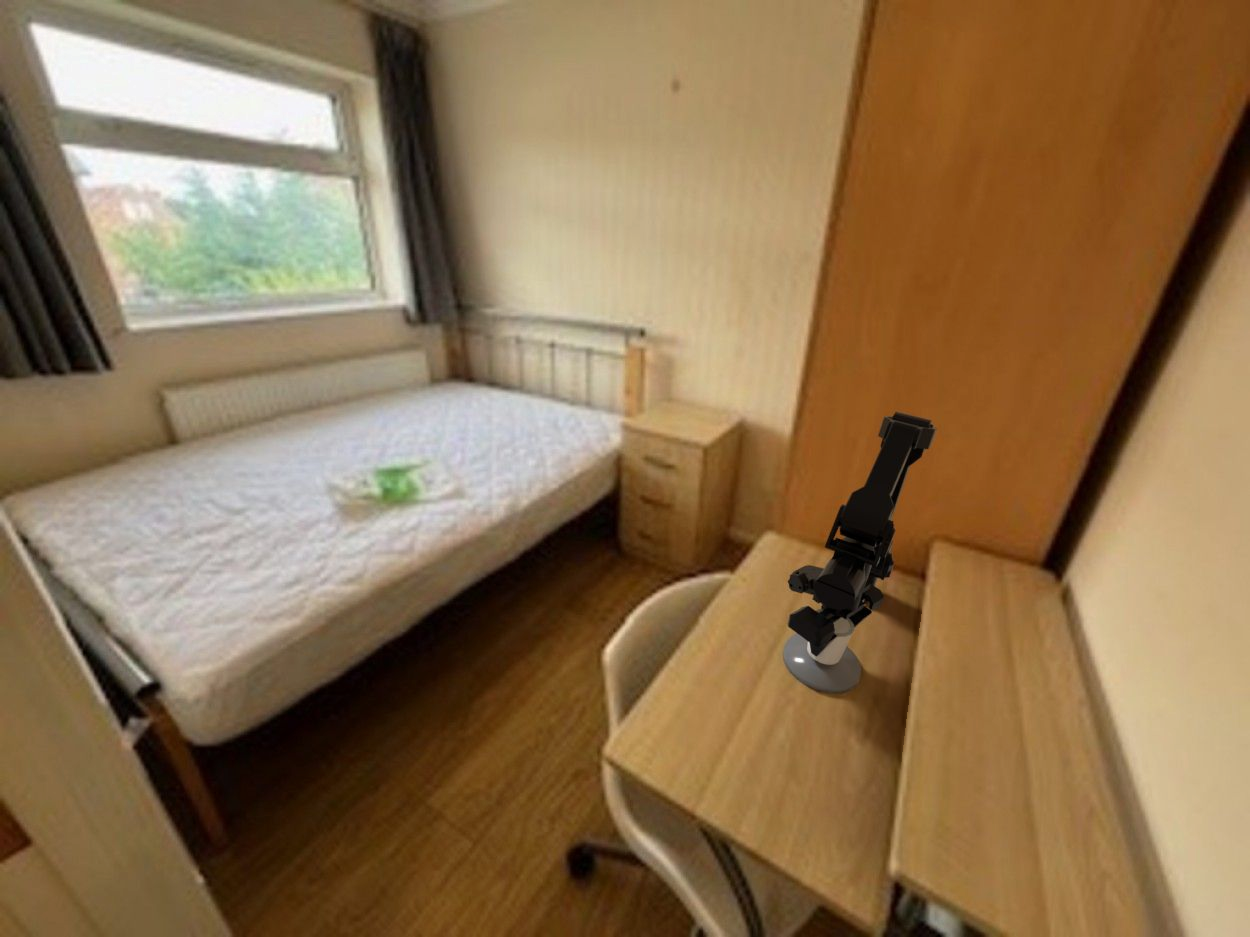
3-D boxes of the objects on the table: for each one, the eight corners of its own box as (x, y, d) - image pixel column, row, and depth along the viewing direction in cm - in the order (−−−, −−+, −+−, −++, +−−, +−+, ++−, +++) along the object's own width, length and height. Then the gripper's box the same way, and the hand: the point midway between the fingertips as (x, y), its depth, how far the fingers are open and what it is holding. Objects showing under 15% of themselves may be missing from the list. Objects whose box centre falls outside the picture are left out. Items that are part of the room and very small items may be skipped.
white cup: (838, 640, 98) (848, 610, 95) (848, 670, 92) (859, 638, 89) (800, 635, 99) (808, 605, 96) (807, 664, 93) (816, 633, 89)
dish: (812, 627, 105) (813, 622, 104) (874, 671, 96) (876, 666, 95) (767, 655, 97) (768, 650, 97) (830, 706, 88) (832, 701, 88)
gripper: (838, 533, 99) (818, 601, 106) (770, 567, 88) (754, 639, 95) (896, 565, 91) (871, 636, 98) (830, 606, 80) (807, 682, 87)
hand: (825, 646), depth 95 cm, fingers closed on white cup, 6 cm apart
